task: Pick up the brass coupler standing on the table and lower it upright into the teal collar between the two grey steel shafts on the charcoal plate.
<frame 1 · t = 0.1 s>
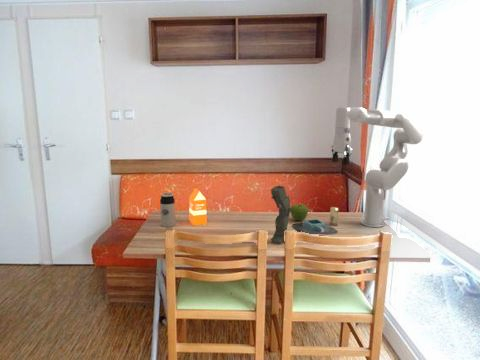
hand: (340, 163, 193), 37 cm above the table, tool pointing down, fingers open, 9 cm apart
orange juice: (198, 223, 210), on the table
shaft mount: (314, 229, 198), on the table
mechanical leg: (280, 241, 181), on the table
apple: (298, 220, 215), on the table
coupler: (333, 224, 207), on the table
travel mug: (168, 225, 206), on the table
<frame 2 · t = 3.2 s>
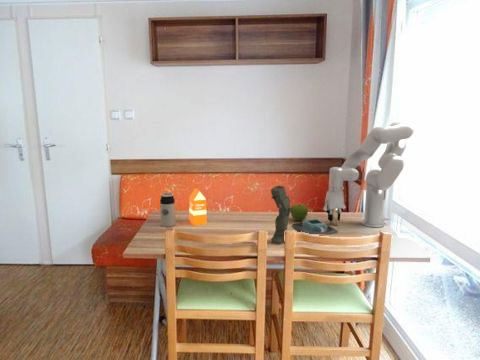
hand: (333, 220, 206), 3 cm above the table, tool pointing down, fingers closed on coupler, 4 cm apart
coupler: (333, 224, 207), on the table, touching gripper
everything else where it was.
when the fingers open (6 cm above the table, at t = 9.1 s): coupler drops 1 cm, resting on shaft mount.
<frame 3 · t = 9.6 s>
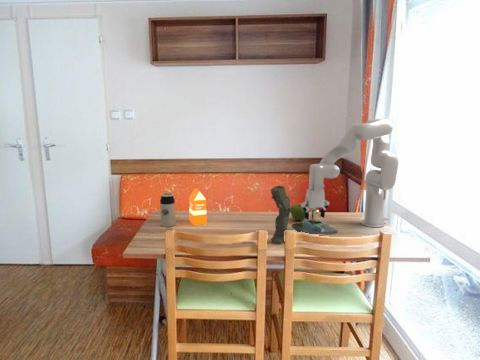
hand: (314, 217, 197), 7 cm above the table, tool pointing down, fingers open, 9 cm apart
coupler: (314, 226, 198), point 2 cm above the table, touching shaft mount
everything else where it was.
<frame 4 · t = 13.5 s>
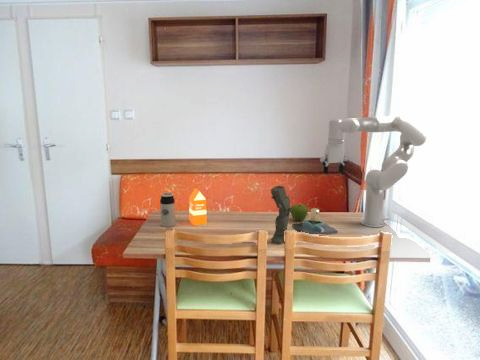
hand: (333, 172, 200), 30 cm above the table, tool pointing down, fingers open, 9 cm apart
nothing on the table moved.
at the end: coupler 0.2 cm off-centre on the shaft mount, point 1.5 cm above the shaft mount's base; coupler tilted 1°; the gripper is holding nothing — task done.
